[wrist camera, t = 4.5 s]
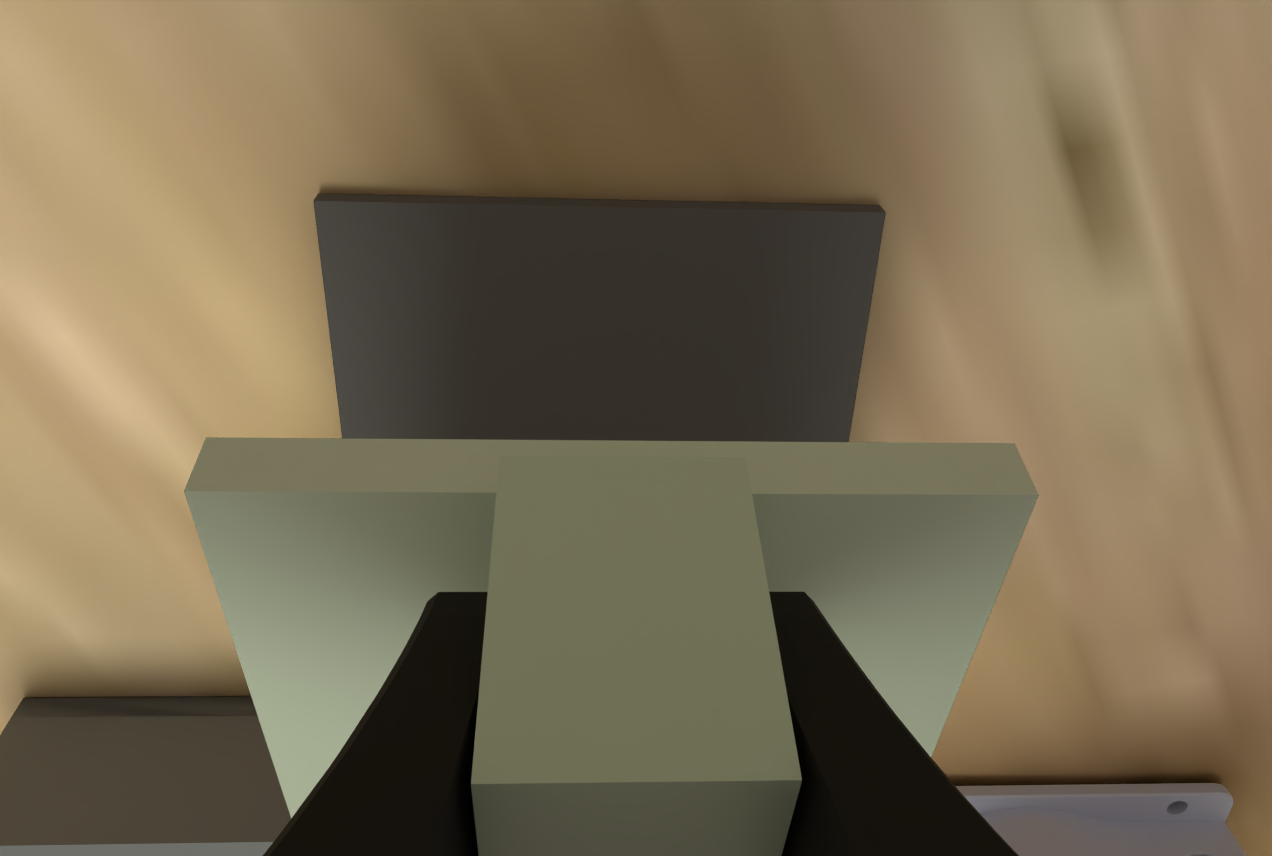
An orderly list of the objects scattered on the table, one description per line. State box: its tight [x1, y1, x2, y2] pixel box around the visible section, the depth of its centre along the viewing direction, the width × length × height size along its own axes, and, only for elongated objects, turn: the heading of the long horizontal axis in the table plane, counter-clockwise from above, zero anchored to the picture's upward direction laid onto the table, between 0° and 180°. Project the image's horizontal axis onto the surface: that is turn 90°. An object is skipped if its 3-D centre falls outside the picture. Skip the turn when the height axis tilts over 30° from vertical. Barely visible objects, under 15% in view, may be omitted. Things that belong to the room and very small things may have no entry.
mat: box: [314, 194, 885, 442], centre depth 21 cm, size 10×11×1 cm
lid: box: [184, 438, 1038, 856], centre depth 13 cm, size 9×11×5 cm
